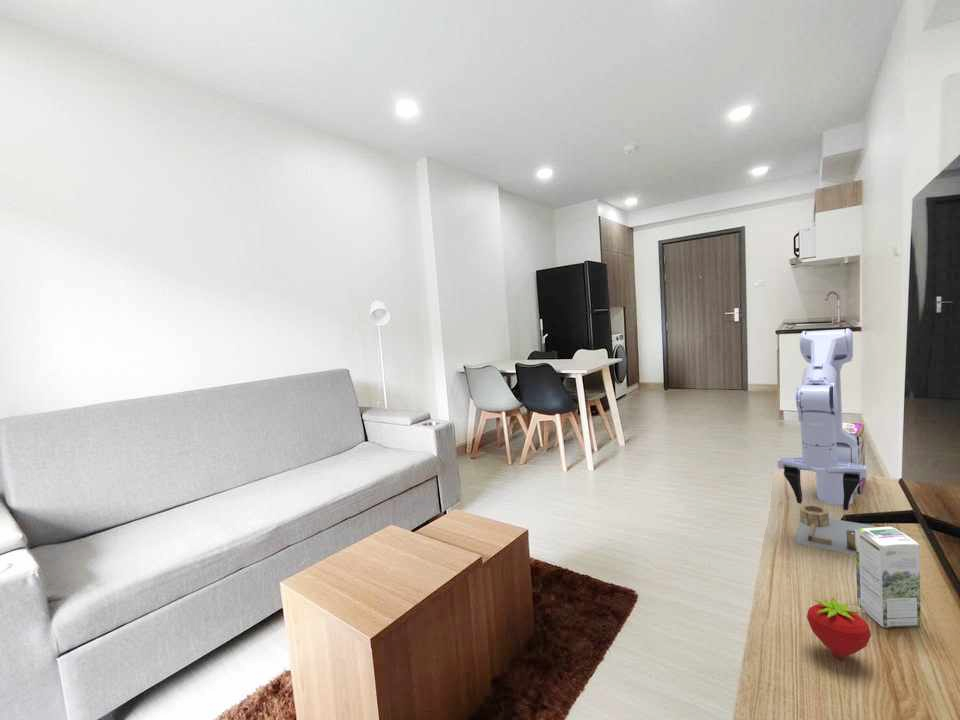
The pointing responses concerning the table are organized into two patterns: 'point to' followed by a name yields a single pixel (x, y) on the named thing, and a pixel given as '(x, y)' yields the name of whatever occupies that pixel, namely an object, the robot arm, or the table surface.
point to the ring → (814, 515)
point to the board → (828, 535)
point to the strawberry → (838, 628)
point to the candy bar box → (858, 432)
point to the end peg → (851, 540)
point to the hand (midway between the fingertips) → (822, 504)
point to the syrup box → (888, 576)
